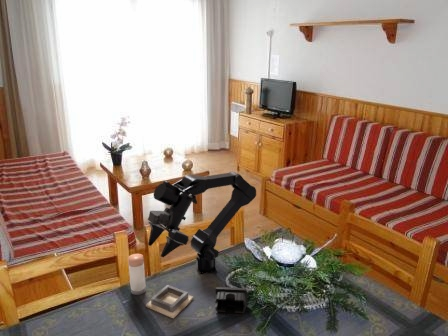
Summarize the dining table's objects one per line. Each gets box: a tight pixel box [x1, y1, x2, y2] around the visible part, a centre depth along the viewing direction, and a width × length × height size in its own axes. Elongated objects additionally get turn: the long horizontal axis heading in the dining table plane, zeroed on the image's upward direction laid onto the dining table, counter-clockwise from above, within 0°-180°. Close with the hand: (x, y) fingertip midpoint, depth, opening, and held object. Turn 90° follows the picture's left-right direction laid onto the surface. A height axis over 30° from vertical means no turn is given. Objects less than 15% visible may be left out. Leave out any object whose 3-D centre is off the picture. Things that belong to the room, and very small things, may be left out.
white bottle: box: [127, 253, 147, 296], centre depth 128 cm, size 5×5×13 cm
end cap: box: [214, 286, 248, 317], centre depth 121 cm, size 10×7×7 cm
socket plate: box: [145, 284, 194, 319], centre depth 124 cm, size 11×11×3 cm
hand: (155, 251), depth 127 cm, fingers open, 9 cm apart
